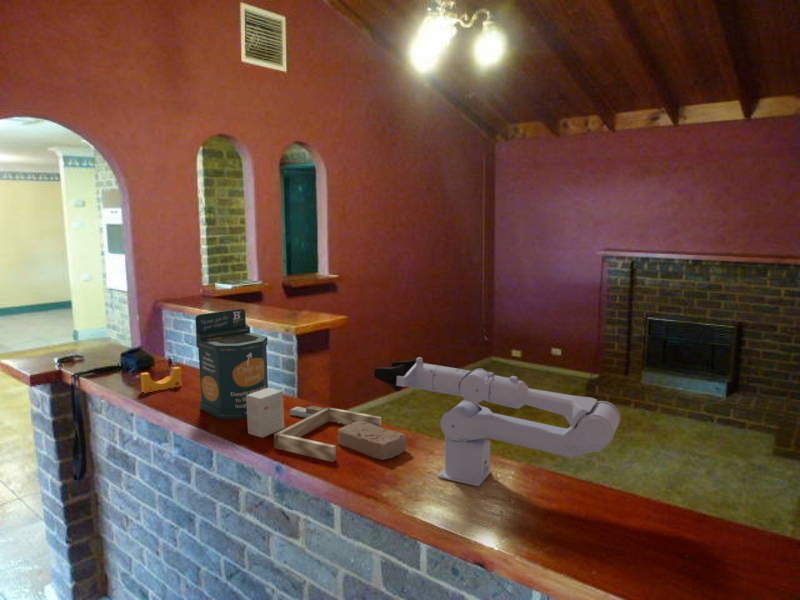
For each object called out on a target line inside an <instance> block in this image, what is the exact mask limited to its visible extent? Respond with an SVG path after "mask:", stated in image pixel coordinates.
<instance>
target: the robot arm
mask: <svg viewBox="0 0 800 600" xmlns="http://www.w3.org/2000/svg"><path fill="white" fill-rule="evenodd" d="M373 377H374V378H375V379H377V380H379V381H381V382H383V383H385V384H387V385H388V386H389V387H391V388H392V390H394V391H396V392H401V391H402V390H403V389H402V388H405V387H407V388H411V389H413V390H424V391H430V392H434V393H440V394H445V395H446V394H447V395H451V396H459V397H462V398H463V400H461V401H459V403H458V404H457V405H456V406H453V408H452V409H450V410H449V411H446V412H444V414H443V415H442V417H441V419H440V422H439V423H440V424H439V425H440V430H441V431H442V433H443V434H444V468H443V469H442V470H440V472H439V473H438V474H437V478H440V479H444V480H449V481H452V482H458V483H462V484H466V485H471V486H474V487H479V486H481V484H483V482H484V481H485V480H486V478H488V476H489V475H490V474H491V473H492V470H491V442H490V440H489V439H491V440H495V441H498V442H499V441H500V442H504V443H508V444H511V445H517V446H521V447H524V448H529V449H533V450H538V451H542V452H545V453H550V454H553V455H557V456H558V455H559V456H562V457H567V458H577V457H580V456H583V455H588V454H590V453H593V452H597V453H600V452H602V451H603V450H604V449H605V448H607V446H608V445H610V444H611V442H612V441H613V439H614V436H615V433H616V430H617V429H618V427H620V426H619V425H620V423H621V420H622V419H621V416H622V415H621V414H620V413H621V412H620V411H619V409H618V408H617V406H616V405H614V404H612V403H611V402H609V401H605V400H600V401H598V399H596V398H594V397H590V396H579V395H571V394H566V393H561V392H554V391H549V390H542V389H535V388H530V387H529V386H528V385H527V384H526V382H525V381H523V380H520V379H519V378H518V376H515V375H511V376H510V377H506V376H501V375H497V374H494V372H491V371H489V372H488V371H487V370H484V368H482V367H480V368H476V369H473V370H468V369H467V370H466V369H461V368H457V367H456V368H455V367H452V366H451V367H450V366H444V365H438V364H431V363H426V362H424V359H423V357H421V356H419V357H417V358H416V359H412V360H402V361H401V360H400V361H399V360H398V361H393V362H391V366H390V367H375V368H374V376H373ZM483 401H485V402H488V403H491V404H495V405H500V406H504V407H509V408H512V409H517V410H519V409H520V408H522V407H523V406H530V407H532V408H536V409H540V410H544V411H546V412H550V413H554V414H557V415H561V416H563V417H564V418H565V419H566V421H567V422H568V424H569V427H568V428H565V427H560V426H556V425H552V424H546V423H541V422H537V421H531V420H527V419H524V418H523V419H522V418H519V417H513V416H509V415H504V414H500V413H494V412H492V410H490V408H489V407H486V406H482V405H480V404H479V403H481V402H483Z"/></svg>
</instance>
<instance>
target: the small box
mask: <svg viewBox="0 0 800 600" xmlns="http://www.w3.org/2000/svg"><path fill="white" fill-rule="evenodd" d="M246 403H247V417H246V419H247V420H246V422H247V433H248V434H249V435H252V436H255V437H258V438H261V439H262V438H265V437H268V436H270V435H272V434H275V433H278V432H280V431H282V430H283V429H285V413H284V412H285V411H284V409H285V407H284V391H283V390H280V389H277V388H272V387H268V388H266V389H263V390H260V391H257V392H254V393H251V394H248V395H246Z"/></svg>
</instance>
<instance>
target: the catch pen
mask: <svg viewBox="0 0 800 600" xmlns="http://www.w3.org/2000/svg"><path fill="white" fill-rule="evenodd" d="M358 421H363V422H366V423H369V424H373V425H376V426H378V427H381V428H383V426H382V425H383V424H382V416H378V415H373V414H367V413H361V412H356V411H350V410H347V409H346V410H345V409H340V408H336V407H335V408H334V407H329V406H327V407H325V408H324V409H323V410H321V411H319V412H317V413H315V414H313V415H311V416H309V417H307V418H302V419H301V420H299V421H297V422H296V423H294V424H292V425H289V426H288V427H284V429H281V430H279V431H277V432H275V433H273V444H274V446H273V447H274V449H277V450H280V451H281V450H282V451H285V452H288V453H289V452H290V453H294V454H298V455H301V456H307V457H310V458H315V459H317V460H323V461H327V462H331V463H333V462H335V461H336V460H337V454H336V453H337V451H336V450H337V449H336V448H337V447H336V445H335V444H330V443H325V442H320V441H316V440H313V439H312V440H311V439H309V438H308V439H307V438H303V436H305V435H306V434H308V433H310V432H312V431H314V430H316V429H318V428H319V427H321V426H324V425H325V424H326V423H327V424H328V422H329V423H330V422H331V423H335V422H337V423H336V424H340V423H342V425H344V426H347V425H349V424H352V423H354V422H358Z"/></svg>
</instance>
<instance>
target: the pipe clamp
mask: <svg viewBox="0 0 800 600" xmlns="http://www.w3.org/2000/svg"><path fill="white" fill-rule="evenodd" d="M170 372H171V373H170V374H169V376H168V375H167V376H165V377H164V378H163V379H159V380H156V381H154V380H153V379H152V377H151V376H150V375H151V374H150V373H149V372H147V371H146V372H141V373H140V383H141V384H140V386H141V388H140V389H141V393H142V392H144V393H147V392H152V391H157V390H162V389H167V388H172V387H177V386H182V387H183V382H182V380H183V379H182V368H181V367H180V366H174V367H173V366H172V367H171V371H170ZM177 388H178V387H177ZM172 389H173V388H172ZM167 390H168V389H167ZM144 393H143V394H144Z"/></svg>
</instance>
